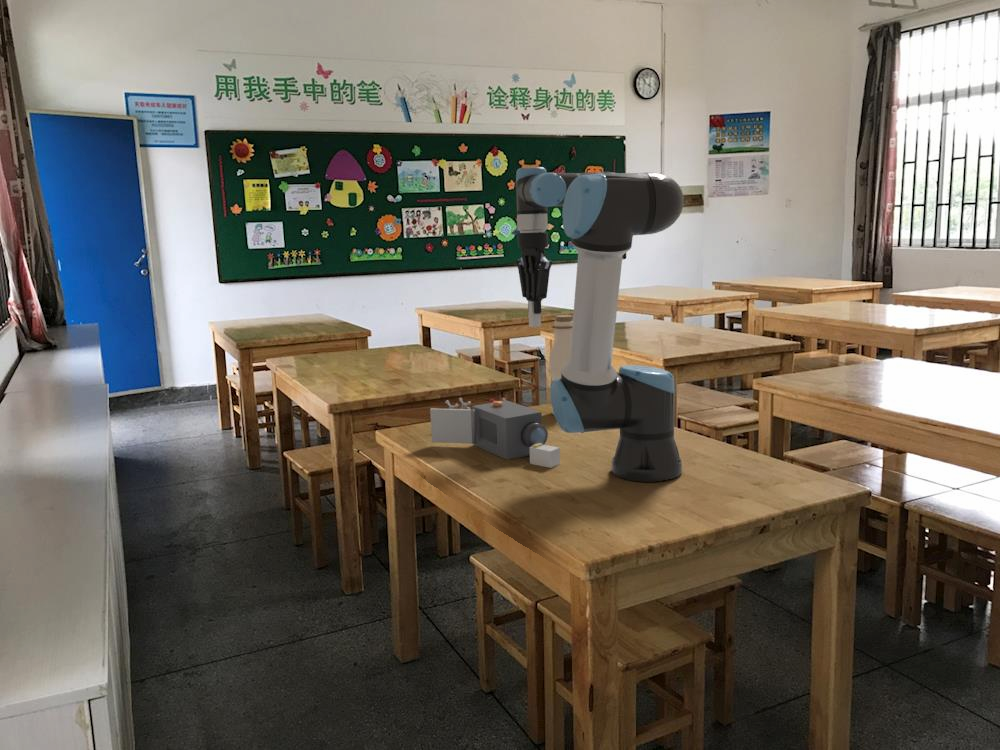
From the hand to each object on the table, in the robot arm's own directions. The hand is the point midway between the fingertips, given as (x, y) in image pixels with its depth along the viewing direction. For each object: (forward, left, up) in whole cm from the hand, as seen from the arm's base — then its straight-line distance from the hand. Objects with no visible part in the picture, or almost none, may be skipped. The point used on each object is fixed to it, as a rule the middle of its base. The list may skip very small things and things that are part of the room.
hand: (535, 326), depth 206 cm
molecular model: (+13, +11, -29) cm, 33 cm away
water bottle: (+15, -20, -29) cm, 38 cm away
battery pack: (-22, +13, -29) cm, 38 cm away
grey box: (-7, +13, -28) cm, 32 cm away
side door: (+4, +22, -27) cm, 35 cm away
